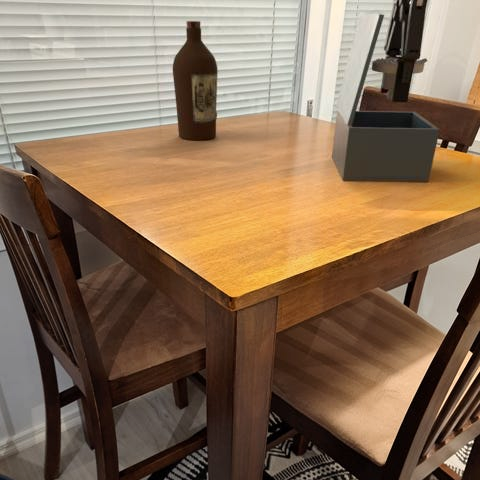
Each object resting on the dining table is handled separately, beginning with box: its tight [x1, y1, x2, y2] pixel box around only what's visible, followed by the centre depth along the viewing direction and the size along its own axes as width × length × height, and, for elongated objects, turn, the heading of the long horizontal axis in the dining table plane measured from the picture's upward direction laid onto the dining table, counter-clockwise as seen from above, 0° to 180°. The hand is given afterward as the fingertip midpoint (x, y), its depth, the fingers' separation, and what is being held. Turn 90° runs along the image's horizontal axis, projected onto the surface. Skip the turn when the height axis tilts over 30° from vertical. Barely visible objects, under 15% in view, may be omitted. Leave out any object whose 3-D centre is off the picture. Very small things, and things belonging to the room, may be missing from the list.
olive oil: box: [172, 20, 218, 141], centre depth 119 cm, size 11×11×25 cm
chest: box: [331, 110, 441, 183], centre depth 100 cm, size 17×17×10 cm
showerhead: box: [371, 57, 428, 101], centre depth 94 cm, size 9×7×10 cm
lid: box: [334, 11, 385, 126], centre depth 93 cm, size 18×17×1 cm
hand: (393, 97), depth 96 cm, fingers closed on showerhead, 9 cm apart
